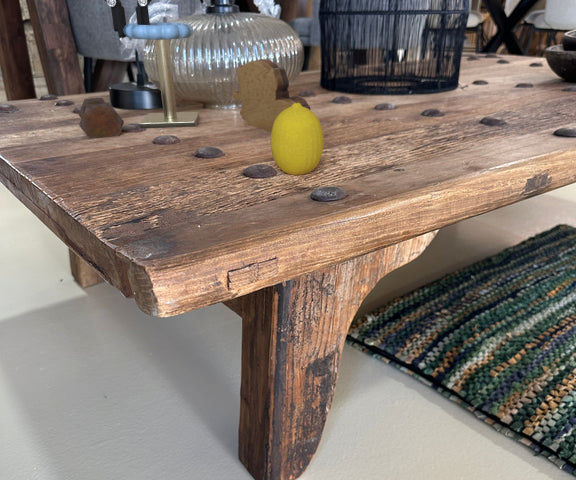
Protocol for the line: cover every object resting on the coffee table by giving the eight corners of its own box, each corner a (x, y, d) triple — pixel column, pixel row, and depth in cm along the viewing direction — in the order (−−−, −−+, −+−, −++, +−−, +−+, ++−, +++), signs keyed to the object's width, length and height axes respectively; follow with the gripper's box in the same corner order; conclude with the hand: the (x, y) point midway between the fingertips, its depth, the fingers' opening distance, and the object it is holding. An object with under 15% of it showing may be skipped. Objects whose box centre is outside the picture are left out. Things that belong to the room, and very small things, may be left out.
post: (141, 131, 84) (128, 41, 78) (149, 120, 91) (138, 37, 85) (195, 129, 84) (187, 40, 79) (199, 119, 92) (192, 36, 86)
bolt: (103, 134, 91) (112, 152, 78) (71, 120, 88) (75, 136, 76) (116, 99, 90) (128, 112, 77) (84, 84, 87) (91, 95, 74)
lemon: (278, 189, 58) (276, 109, 55) (267, 174, 63) (264, 99, 59) (329, 185, 59) (331, 105, 56) (315, 170, 64) (315, 96, 60)
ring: (119, 40, 77) (117, 25, 77) (131, 35, 86) (130, 22, 85) (190, 40, 78) (189, 25, 77) (195, 35, 87) (194, 22, 86)
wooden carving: (321, 142, 76) (322, 62, 71) (295, 148, 74) (294, 65, 69) (250, 123, 88) (247, 53, 83) (225, 128, 85) (220, 56, 80)
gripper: (41, -124, 70) (69, 40, 78) (173, -125, 70) (187, 38, 79) (58, -114, 76) (83, 36, 85) (179, -114, 77) (191, 34, 86)
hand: (133, 36), depth 82 cm, fingers closed on ring, 2 cm apart
